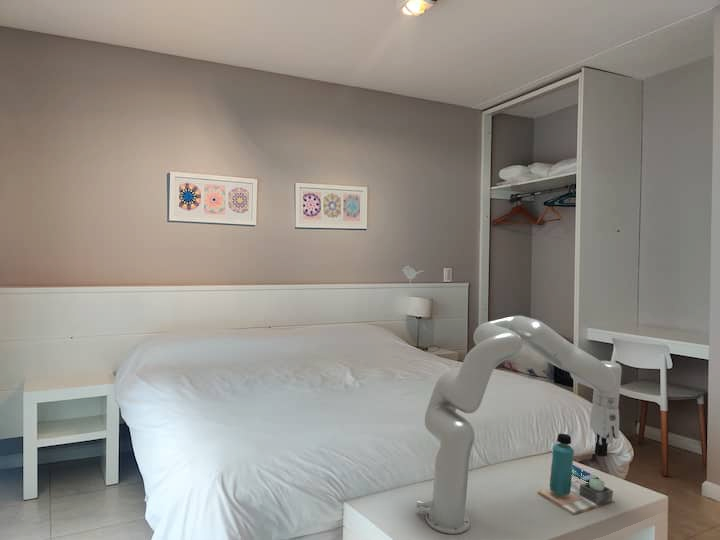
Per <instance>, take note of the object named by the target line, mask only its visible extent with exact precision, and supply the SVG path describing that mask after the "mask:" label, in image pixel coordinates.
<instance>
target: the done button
mask: <svg viewBox="0 0 720 540" xmlns="http://www.w3.org/2000/svg"><path fill="white" fill-rule="evenodd" d="M604 486H605V481H603V480H601V479H600V478H599V479H594V478H592V479H590V482H589V488H590V489H592V490H594V491H596V492H597V493H600V492H603V491H604Z"/></svg>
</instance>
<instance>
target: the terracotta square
mask: <svg viewBox="0 0 720 540" xmlns="http://www.w3.org/2000/svg"><path fill="white" fill-rule="evenodd" d="M538 492H539V493H541V494H542V495H544V496H546V497H547V498H549V499H551V500H552V501H554V502H556V503H557V504H559V505H561V506H563V505H566V504H569V503H572V502H576V501H579V500H581V499H580V498H578V497H576V496H574V495H573V494H571V493H570V494H569V495H558V494H556V493H554V492H552V491H551V490H550V487H549V488H546V489H543V490H539V491H538Z"/></svg>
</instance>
